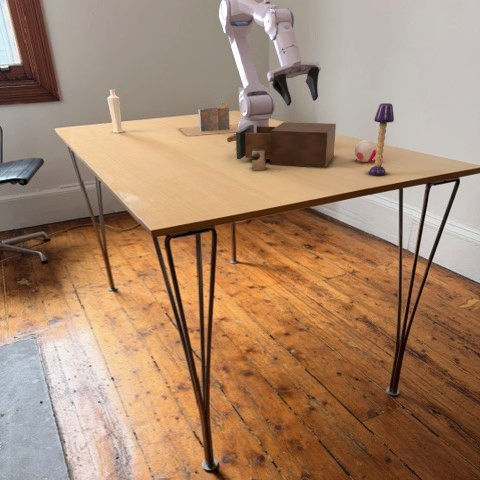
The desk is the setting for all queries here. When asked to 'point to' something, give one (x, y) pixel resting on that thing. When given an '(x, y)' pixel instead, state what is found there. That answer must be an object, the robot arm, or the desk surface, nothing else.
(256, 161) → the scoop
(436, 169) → the desk surface
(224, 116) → the architectural model on board
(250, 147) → the drawer
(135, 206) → the desk surface
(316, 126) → the cabinet
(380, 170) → the toy lamp
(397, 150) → the desk surface
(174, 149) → the desk surface
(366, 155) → the stress ball
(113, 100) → the perfume bottle
